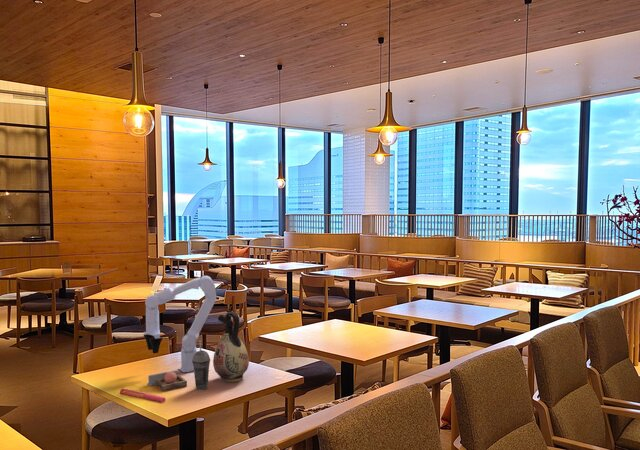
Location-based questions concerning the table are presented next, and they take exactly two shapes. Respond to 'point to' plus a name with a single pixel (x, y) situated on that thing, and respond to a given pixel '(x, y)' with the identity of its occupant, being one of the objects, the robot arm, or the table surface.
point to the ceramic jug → (230, 351)
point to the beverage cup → (201, 368)
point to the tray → (177, 384)
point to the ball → (170, 377)
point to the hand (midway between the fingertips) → (153, 351)
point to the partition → (157, 377)
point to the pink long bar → (143, 395)
